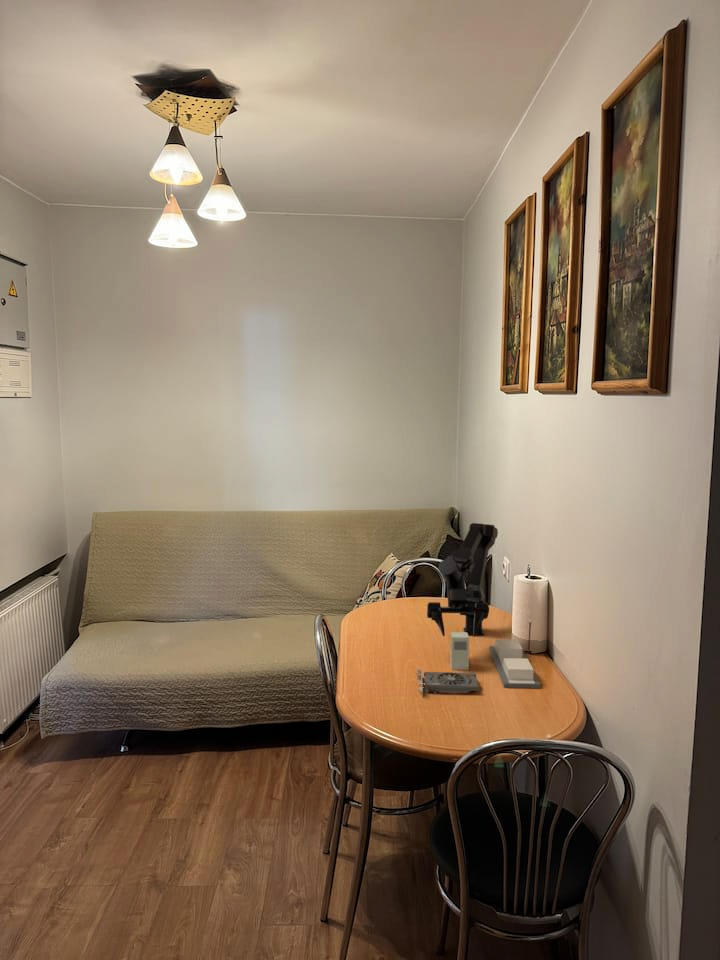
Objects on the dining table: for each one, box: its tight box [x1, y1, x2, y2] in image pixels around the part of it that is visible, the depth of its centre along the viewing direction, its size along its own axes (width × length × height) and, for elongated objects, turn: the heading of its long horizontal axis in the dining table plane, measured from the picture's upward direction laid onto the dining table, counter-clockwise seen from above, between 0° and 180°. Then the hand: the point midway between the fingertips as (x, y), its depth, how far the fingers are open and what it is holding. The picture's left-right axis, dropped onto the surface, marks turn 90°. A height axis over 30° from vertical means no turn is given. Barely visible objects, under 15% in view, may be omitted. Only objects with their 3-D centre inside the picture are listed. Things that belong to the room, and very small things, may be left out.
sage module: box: [449, 631, 470, 671], centre depth 189 cm, size 5×5×10 cm
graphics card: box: [416, 668, 480, 698], centre depth 174 cm, size 17×4×12 cm
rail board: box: [488, 638, 541, 689], centre depth 188 cm, size 28×10×4 cm, turn 177°
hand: (459, 636), depth 189 cm, fingers open, 9 cm apart
